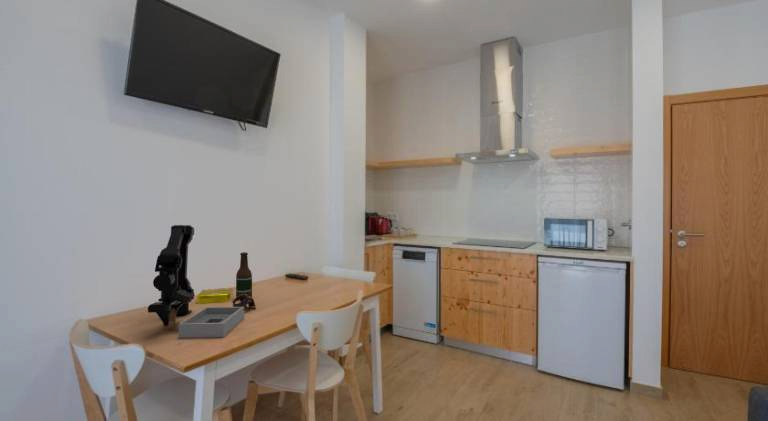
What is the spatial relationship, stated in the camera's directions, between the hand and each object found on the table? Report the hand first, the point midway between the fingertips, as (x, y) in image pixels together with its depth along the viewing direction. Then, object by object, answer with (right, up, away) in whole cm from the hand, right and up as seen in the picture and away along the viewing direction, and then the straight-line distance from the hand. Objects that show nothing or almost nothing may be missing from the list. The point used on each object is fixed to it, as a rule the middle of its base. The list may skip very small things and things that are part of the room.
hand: (169, 324), depth 139 cm
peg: (0, -2, 0) cm, 2 cm away
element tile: (-3, -2, +44) cm, 44 cm away
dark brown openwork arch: (+19, -2, +26) cm, 32 cm away
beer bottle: (+12, -1, +45) cm, 46 cm away
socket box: (+17, -2, +1) cm, 17 cm away
